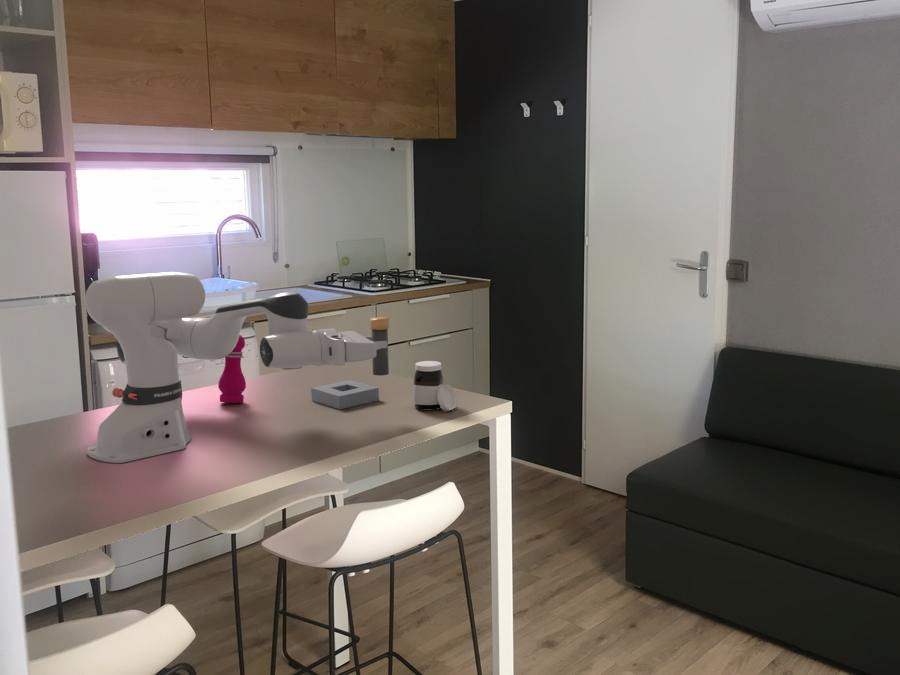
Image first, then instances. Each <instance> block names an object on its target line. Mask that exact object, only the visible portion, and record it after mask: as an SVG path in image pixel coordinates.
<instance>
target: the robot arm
mask: <svg viewBox="0 0 900 675" xmlns="http://www.w3.org/2000/svg"><path fill="white" fill-rule="evenodd" d="M205 302H206V290H205V288H204V285H203V283H202V281H201V280H200V279H199V277H197V276H196V275H195V274H193V273H188V272H182V271H181V272H179V271H164V272H151V273H139V274H138V273H136V274H134V273H133V274H124V275H121V274H120V275H113V276H112V275H111V276H108V277H104V278H101V279H97V280H94V281H92V282H91V283H90V285H89V286H88V288H87V289H86V292H85V296H84V306H85V309H86V312H87V314H88V316H90V318H91V319H92V320H93V322H95V323H96V324H98V325H100V326H101V327H102V328H103V329H104V330H105V331H107V332H108V333H110V334H112V336H114V338H115V339H116V342H115V343H114V344H113V345H114V347H115V349H116V351H117V357H118V358H119V360H120V362H121V363H122V364H124V365H125V368H126V369H125V370H126V377H127V383H126V386H125V388H124V389H122V388H119V387H114V388H113V389H112V391H111V395H112V396H113V397H115V398H118V399H119V398H121V403H120V404H118V406H117V407H116V408H115V409H114V410H113V411H112V412H111V413H110V414H109V415H108V416H107V417H106V418H105V419H104V420H103V421H102V422H101V423H100V424H99V426H98V430H97V437H96V439H97V440H96V444H94V445H92V446H89V447H87V449H86V455H87V456H89V457H90V458H92V459H94V460H97V461H101V462H104V463H113V464H121V463H122V464H123V463H128V462H132V461H136V460H141V459H146V458H151V457H154V456H158V455H163V454H167V453H171V452H175V451H180V450H181V451H182V450H184V449H186V448H187V444H188V443H189V442H190V441H191V440H192V437H191V434H190V432H189V430H188V426H187V423H186V419H185V418H186V417H185V415H184V410H183V405H182V404H183V403H182V399H183V388H182V380H181V379H180V374H179V373H180V372H179V363H178V355H179V356H182V357H185V358H188V359H189V358H190V359H194V360H195V359H196V360H203V361H214V360H215V361H216V360H217V361H218V360H221V359H225V357H226V356H228V355H229V354H230V353H231V352H232V351H233V349H234V348H235V346H236V344H237V342H238V339H239V335H241V330H242V327H243V324H244V322H245V320H246V318H247V317H251V316H258V315H265V316H266V317H267V324H268V326H267V327H268V335H265V336H263V337H262V338H261V340H260V343H259V356H260V358H261V362H262V363H263V365H264V366H265V367H266V368H269V369H282V370H296V369H302V368H304V367H306V366H307V367H308V366H316V367H320V366H335V367H336V366H338V367H341V366H345V365H346V363H356V362H363V361H368V360H372V359H373V358H375V357H376V355H377V352H376V350H378V349H382V348H387V341H385V340H379V341H375V342H374V341H372V336H363V335H362V334H360V333H358V332H357V331H354V330H346V331H337V329H336V328H322V329H320V328H319V329H312V330H309V328H308V326H309V325H308V316H309V314H308V313H309V303H308V301H307V300H306V299H305V297H303V296H302V295H301V294H300V293H299V292H293V291H285V292H280V293H277V294H274V295H271V296H269V297H264V298H262V297H261V298H257V299H251V300H245V301H238V302H234V303H231V304H225V305H222V306H220V307H218V308H217V309H216V310H215V312H214V314H213V315H212V316H210V317H193V316H195V315H198V314H200V312H201V310H202V309H203V307H204V305H205ZM308 330H309V331H308Z"/></svg>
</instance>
